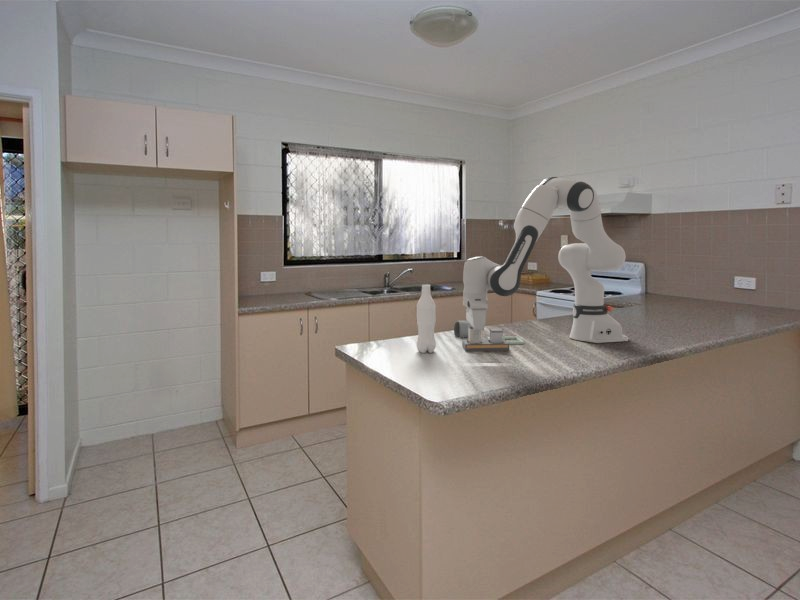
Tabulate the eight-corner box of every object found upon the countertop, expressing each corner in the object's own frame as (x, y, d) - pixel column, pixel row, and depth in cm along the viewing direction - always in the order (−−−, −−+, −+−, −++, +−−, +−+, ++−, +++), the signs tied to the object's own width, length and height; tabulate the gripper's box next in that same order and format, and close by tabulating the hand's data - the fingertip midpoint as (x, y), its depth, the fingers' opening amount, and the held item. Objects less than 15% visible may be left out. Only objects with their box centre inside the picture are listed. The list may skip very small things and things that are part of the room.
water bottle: (439, 350, 184) (439, 284, 181) (430, 354, 178) (430, 286, 175) (422, 348, 188) (422, 283, 185) (413, 352, 182) (412, 285, 179)
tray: (517, 340, 200) (517, 336, 199) (523, 346, 190) (523, 341, 190) (487, 341, 200) (487, 336, 199) (492, 347, 190) (492, 342, 189)
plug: (478, 343, 185) (479, 324, 184) (480, 345, 181) (481, 326, 180) (468, 343, 185) (468, 324, 184) (469, 345, 181) (469, 326, 180)
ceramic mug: (478, 339, 204) (478, 320, 203) (460, 340, 201) (460, 322, 201) (467, 334, 214) (467, 317, 213) (450, 336, 212) (450, 318, 211)
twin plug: (500, 346, 186) (500, 328, 185) (502, 349, 182) (502, 330, 181) (489, 346, 186) (489, 328, 185) (491, 349, 181) (491, 330, 181)
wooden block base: (504, 348, 188) (504, 339, 187) (509, 353, 180) (509, 343, 179) (462, 348, 187) (462, 339, 187) (465, 353, 179) (465, 344, 179)
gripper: (462, 297, 191) (462, 332, 193) (470, 304, 171) (470, 343, 173) (478, 297, 191) (478, 331, 193) (489, 304, 171) (488, 343, 173)
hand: (474, 337), depth 183 cm, fingers closed on plug, 4 cm apart
